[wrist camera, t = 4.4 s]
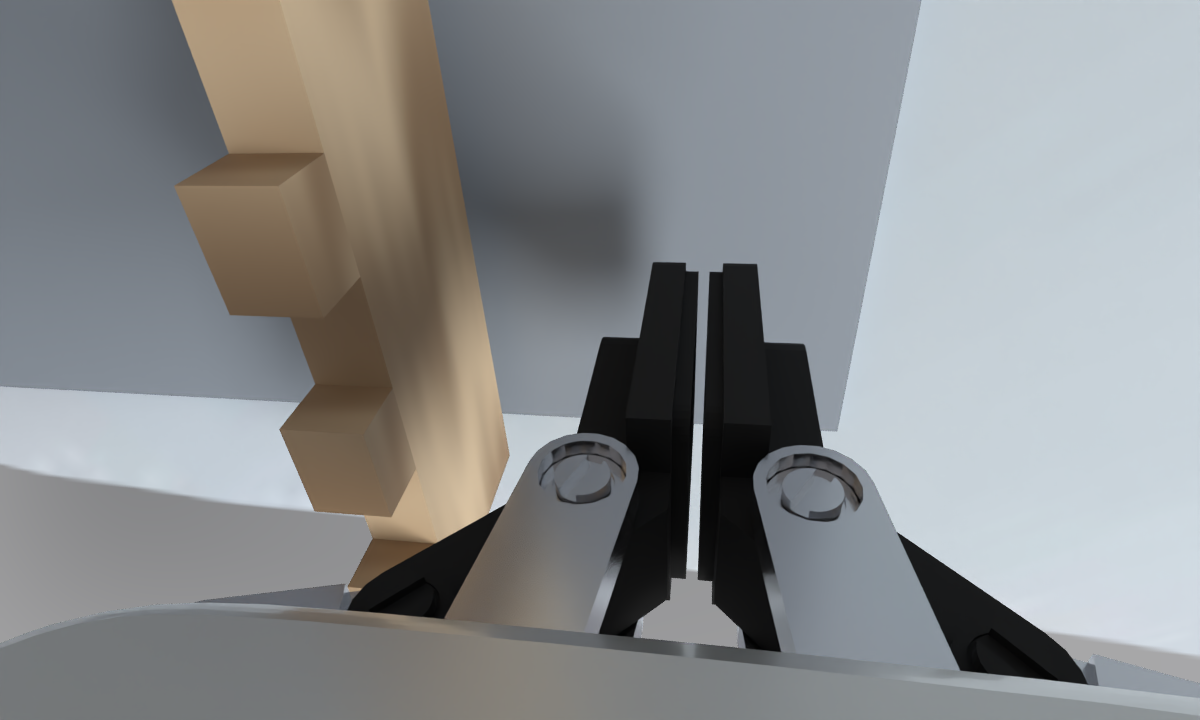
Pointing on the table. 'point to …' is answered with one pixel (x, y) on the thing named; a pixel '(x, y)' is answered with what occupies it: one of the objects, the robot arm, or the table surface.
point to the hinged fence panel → (353, 255)
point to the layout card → (465, 186)
